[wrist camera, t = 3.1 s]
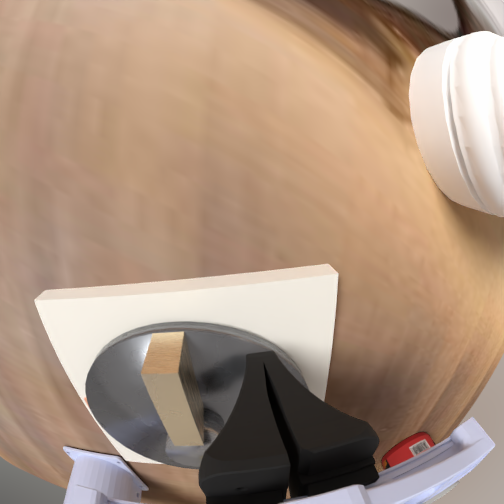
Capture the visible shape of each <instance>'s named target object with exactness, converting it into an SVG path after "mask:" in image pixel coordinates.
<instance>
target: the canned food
mask: <svg viewBox="0 0 504 504" xmlns="http://www.w3.org/2000/svg"><path fill="white" fill-rule="evenodd" d="M435 445H436V444H435V443H434V442H433V440H432V439H431V437H430V436H429V435H428V434H427V433H425V432H420V433H417V434H414V435H412V436H410V437H408V438H406V439H405V440H403V441H401V442H400V443H398V444H397V445H396V446H394V447H393V448H392V449H390V450H389V451H388V452H387V453H386V454H385V455H384V457H383V458H382V466H383V468H384V470H386V469H388V468H391V467H393V466H395V465H397V464H400V463H402V462H404V461H406V460H408V459H410V458H412V457H414V456H416V455H418V454H420V453H422V452H424V451H426V450H428V449H429V448H431V447H433V446H435ZM458 483H459V481H456V482H455V483H454V484H452V485H451V486H449V487H448V488H446V489H445V490H443V491H442V492H440V493H439V494H437V495H436V496H434V497H433V498H431V499H429V500H428V501H426V502H424V503H423V504H431V503H433V502H434V501H436V500H437V499H439V498H440V497H442V496H443V495H445V494H446V493H447V492H449V491H450V490H451V489H452V488H454V487H455V486H456V485H457V484H458Z"/></svg>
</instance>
